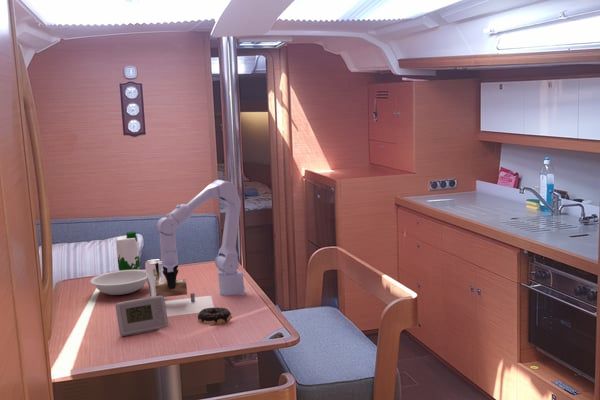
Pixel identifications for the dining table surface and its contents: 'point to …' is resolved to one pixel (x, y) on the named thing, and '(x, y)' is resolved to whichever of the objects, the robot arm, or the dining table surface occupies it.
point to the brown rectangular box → (164, 290)
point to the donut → (214, 316)
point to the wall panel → (188, 305)
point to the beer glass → (154, 274)
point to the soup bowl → (120, 281)
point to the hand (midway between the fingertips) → (172, 286)
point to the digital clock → (141, 315)
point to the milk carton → (128, 252)
